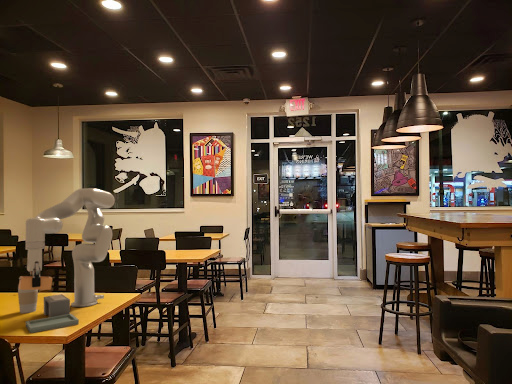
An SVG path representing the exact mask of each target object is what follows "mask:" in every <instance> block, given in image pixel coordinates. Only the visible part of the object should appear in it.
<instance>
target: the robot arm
mask: <svg viewBox="0 0 512 384" xmlns="http://www.w3.org/2000/svg"><path fill="white" fill-rule="evenodd" d="M115 201H116V199H115V196H114V195H113V194H112V193H111V192H109V191H106V190H102V189H99V188H94V187H89V188H78V189H76V190H74V191H73V192H72V193H71V194H69V195H68V196H67V197H66V198H64V199H63V201H61V202H59V203H57V204H55V205H53V206H50V207H47V208H46V209H45V210H43V211H41V212H40V213H38V214H37V215H36V216H35V217H34V218H31V217H30V218H27V219H26V220H25V250H27V259H26V260H27V263H26V270H27V271H28V272H29V274H30V276H33V278H32V287H40V286H41V277H40V276H41V271H42V269H43V249H46V243H45V241H46V239H45V237H46V234H47V235H48V234H56V233H59V232H60V231H61V230H62V229H63V226H64V224H63V221H62V220H63V219H67V218H69V217H70V218H71V217H72V216H74V215H76V214H77V213H78V212H79V211H80V210H81V209H82V208H84V206H85V209H86V211H87V216H88V217H87V220H86V222H85V225H84V228H83V230H82V233H81V239H82V241H83V242H85V243H80V244H77V245H74V247H73V249H72V251H71V256H72V260H73V261H72V262H73V268H74V269H73V271H74V275H73V277H74V279H73V280H74V281H73V283H74V285H73V286H74V288H73V289H74V295H73V296H74V299H73V300H74V301H73V302H70V307H73V308H84V307H86V308H87V307H90V306H91V307H92V306H95V305H97V304H98V300H100V299H101V300H102V299H104V298H105V295H104V294H98V295H97V294H95V268H94V265H93V263H100V262H103V261H104V260H105V259H106V258H107V254H108V251H109V250H110V245H111V242H112V240H113V239H112V238H113V230H112V227H110V226H109V225H105V224H104V222H105V216H104V214H103V212H102V209H110V208H112V207H113V206H114V204H115Z"/></svg>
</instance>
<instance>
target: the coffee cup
mask: <svg viewBox="0 0 512 384" xmlns="http://www.w3.org/2000/svg"><path fill="white" fill-rule="evenodd" d="M18 287H19V283H17V290H18V291H17V296H18V305H19V313H20V314H29V313H33V312H36V311H37V304H38V297H39V296H38V294H39V290H20V289H19V288H18Z"/></svg>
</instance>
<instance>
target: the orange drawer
mask: <svg viewBox="0 0 512 384" xmlns="http://www.w3.org/2000/svg"><path fill="white" fill-rule="evenodd" d="M40 277H41V286H40V287H32V278H33V276H27V275H21V276H19V277H18V279H19V282H18V284H19V287H18V286H17V289H18V288H19V289H20V290H38V291H41V290H45V291H46V290H49V291H51V290H52V284H53V277H52V276H41V275H40Z"/></svg>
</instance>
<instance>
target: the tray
mask: <svg viewBox="0 0 512 384" xmlns="http://www.w3.org/2000/svg"><path fill="white" fill-rule="evenodd" d="M79 320H80V319H79V318H77V317H76V316H75V315H74V314H72V313H70V314H67V315H61V316H55V317H49V316H48V317H44V318H38V319H33V320H27V321H25V328H26V329H27V330H28V332H29V333H30V334H33V333H35V334H36V333H38V332H43V331H44V332H45V331H50V330H54V329H55V330H56V329H60V328H66V327H71V326H72V327H73V326H76V325H79Z"/></svg>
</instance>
